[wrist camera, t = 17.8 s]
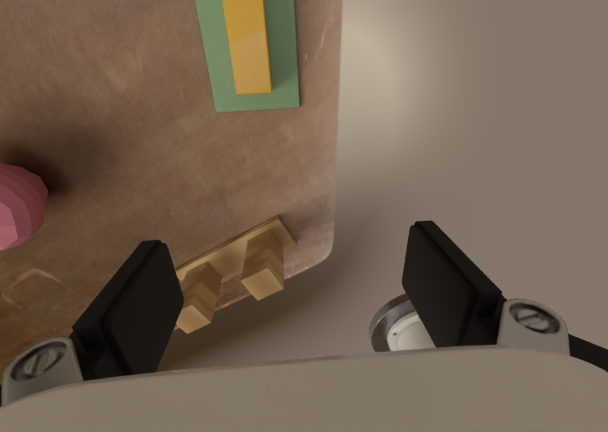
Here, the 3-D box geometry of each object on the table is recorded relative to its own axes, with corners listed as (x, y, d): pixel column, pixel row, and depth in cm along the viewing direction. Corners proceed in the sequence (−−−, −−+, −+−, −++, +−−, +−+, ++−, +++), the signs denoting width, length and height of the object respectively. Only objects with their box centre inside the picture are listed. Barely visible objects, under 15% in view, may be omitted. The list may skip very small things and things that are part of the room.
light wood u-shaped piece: (278, 214, 37) (278, 255, 30) (296, 241, 40) (301, 286, 32) (175, 268, 40) (150, 318, 32) (198, 290, 43) (179, 342, 35)
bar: (213, -96, 23) (204, -116, 20) (255, -98, 23) (252, -118, 20) (240, 92, 30) (236, 95, 27) (272, 90, 30) (271, 92, 27)
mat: (299, 106, 31) (299, 107, 31) (217, 112, 31) (216, 112, 30) (286, -134, 23) (286, -136, 22) (171, -131, 22) (169, -134, 22)
